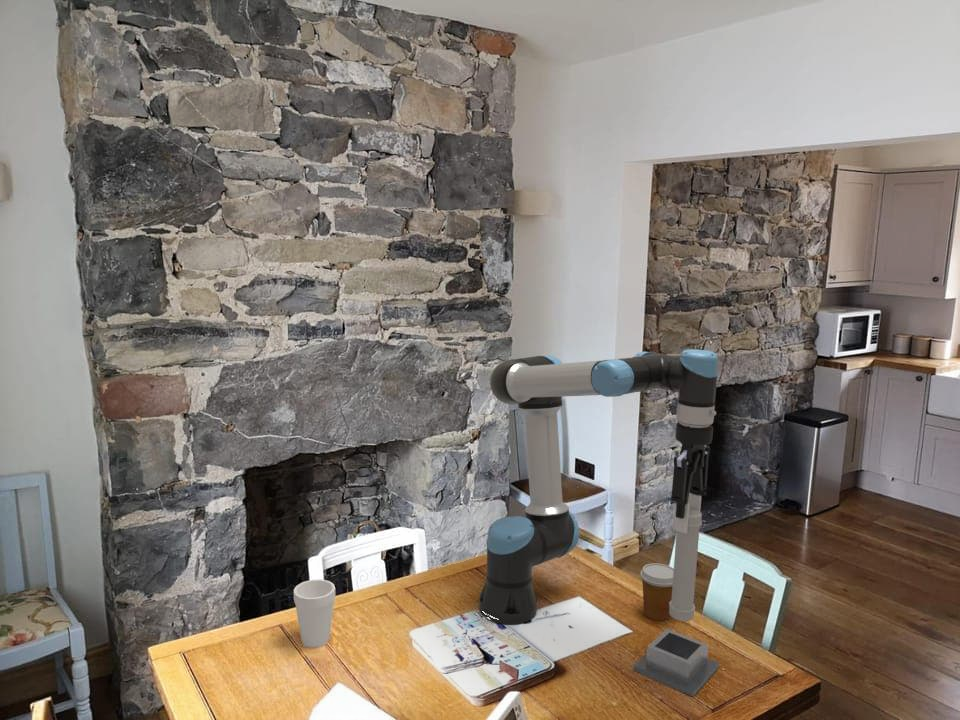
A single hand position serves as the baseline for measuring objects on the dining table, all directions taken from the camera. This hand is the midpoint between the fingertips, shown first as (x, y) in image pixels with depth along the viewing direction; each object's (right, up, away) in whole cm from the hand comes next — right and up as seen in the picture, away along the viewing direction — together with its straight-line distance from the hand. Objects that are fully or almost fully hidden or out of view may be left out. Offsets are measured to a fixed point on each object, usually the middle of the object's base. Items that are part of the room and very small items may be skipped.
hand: (686, 526), depth 153 cm
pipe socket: (-1, -33, +6) cm, 34 cm away
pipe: (-1, -21, +3) cm, 21 cm away
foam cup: (-84, -30, +14) cm, 90 cm away
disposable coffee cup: (+1, -30, +29) cm, 41 cm away
